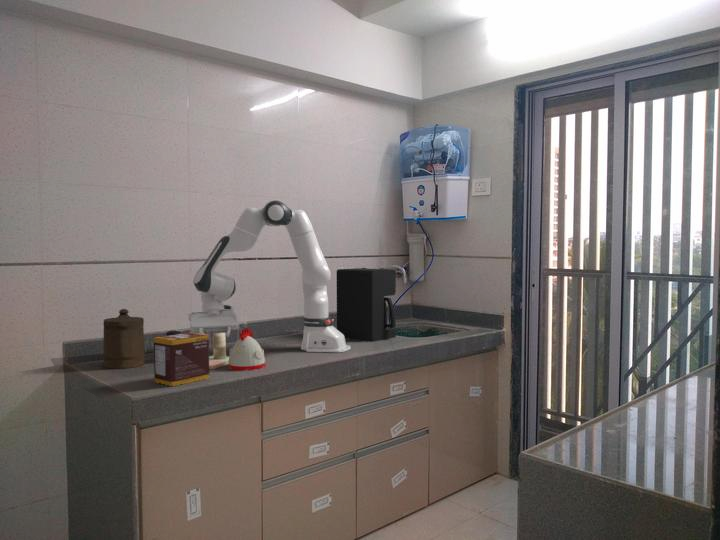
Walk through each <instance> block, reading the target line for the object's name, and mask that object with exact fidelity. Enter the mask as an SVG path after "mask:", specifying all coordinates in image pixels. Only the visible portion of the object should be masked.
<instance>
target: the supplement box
mask: <svg viewBox="0 0 720 540" xmlns="http://www.w3.org/2000/svg"><path fill="white" fill-rule="evenodd" d="M209 340H210V335H209V334H207V333H206V334H200V333H199V332H192V331H190V332H184V333H183V332H182V334H175V335H168V336H166V335H164V336H163V335H162V336H156V337H154V338H153V359H154V360H153V361H154V362H153V363H154V364H153V366H154V368H153V369H154V372H153V373H154V383H155V382H157V383H156V384H159V383H161V385H163V384H165V386H167V385H169V386H168V387H171V386H173V387H176V386H175V385H177V386H181V385H180V384H182V385H186V384H190V382H191V383H195V382H194V381H196V382H198V380H200V381H204V380H203V379H205V380H209V379H210V369H209V357H210V341H209ZM208 378H209V379H208ZM185 383H186V384H185Z"/></svg>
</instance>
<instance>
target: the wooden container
mask: <svg viewBox="0 0 720 540" xmlns="http://www.w3.org/2000/svg"><path fill="white" fill-rule="evenodd" d="M118 313H119V315H118V316H117V317H111V318H110V317H109V318H105V319H103V347H102V348H103V366H104V368H107V369H113V370H114V369H116V370H117V369H130V368H135V367H136V368H137V367H141V366H143V365H145V363H146V362H145V361H146V360H145V357H146V356H145V354H146V353H145V350H146V349H145V335H144V332H145V331H144V325H145V324H144V322H145V321H144V317H141V316H130V315H129V310H128V309H126V308H122V309H120V310H119V311H118Z"/></svg>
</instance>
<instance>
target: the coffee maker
mask: <svg viewBox="0 0 720 540" xmlns="http://www.w3.org/2000/svg"><path fill="white" fill-rule="evenodd" d="M396 274H397V272H396V270H395V269H394V268H391V269H390V268H384V267H383V268H382V267H379V268H367V267H361V268H360V267H359V268H357V267H356V268H338V269H336V329H337V330H338V331H340V332H341V333H342V334H343V335H344V337H345V339H349V340H358V341H365V342H370V343H372V342H378V341H384V340H389V339H392V338H393V339H394V338H396V337H397V331H396V329H395V328H396V327H397V326H396V325H397V324H396V323H397V322H396V314H395V313H396V312H395V308H394V303H393V300H392V298H391V296H395V295H396V292H397V289H396V288H397V287H396V284H397V283H396V279H397V277H396ZM388 296H389V297H388ZM387 306H388V307H387ZM389 317H390V323H389Z"/></svg>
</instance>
